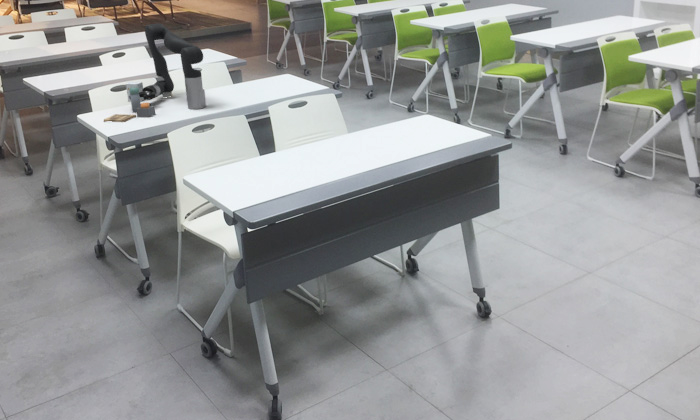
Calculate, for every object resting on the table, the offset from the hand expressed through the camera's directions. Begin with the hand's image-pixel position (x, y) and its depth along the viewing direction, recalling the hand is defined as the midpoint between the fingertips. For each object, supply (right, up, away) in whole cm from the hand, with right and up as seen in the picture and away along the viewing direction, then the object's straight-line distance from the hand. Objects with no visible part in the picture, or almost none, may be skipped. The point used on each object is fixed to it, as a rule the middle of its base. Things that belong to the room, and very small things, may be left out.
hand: (137, 97), depth 403 cm
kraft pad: (-4, -14, -16) cm, 21 cm away
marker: (0, -7, 0) cm, 7 cm away
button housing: (+8, -11, -10) cm, 17 cm away
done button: (+8, -8, -11) cm, 16 cm away
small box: (-9, +3, +29) cm, 30 cm away
